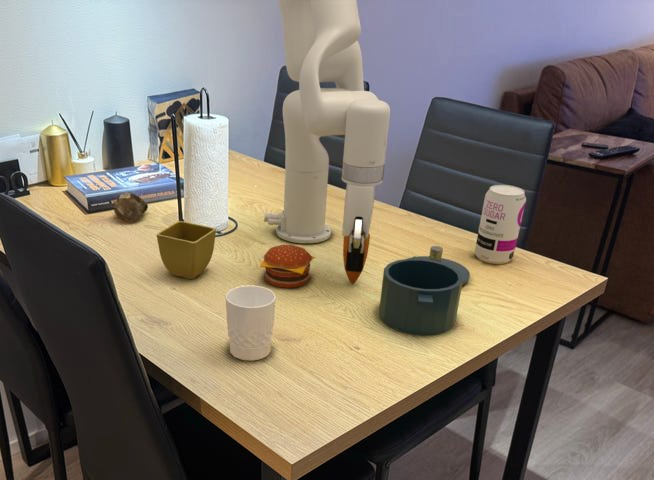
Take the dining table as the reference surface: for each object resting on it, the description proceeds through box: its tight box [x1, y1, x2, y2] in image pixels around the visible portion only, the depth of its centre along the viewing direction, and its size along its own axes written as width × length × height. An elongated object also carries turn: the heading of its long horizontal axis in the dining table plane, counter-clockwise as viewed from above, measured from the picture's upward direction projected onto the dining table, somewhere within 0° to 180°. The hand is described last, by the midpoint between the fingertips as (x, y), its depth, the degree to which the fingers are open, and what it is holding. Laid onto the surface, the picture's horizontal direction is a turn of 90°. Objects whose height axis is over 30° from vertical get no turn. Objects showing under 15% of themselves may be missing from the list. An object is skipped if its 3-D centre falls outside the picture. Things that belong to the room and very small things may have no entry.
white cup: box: [225, 284, 277, 362], centre depth 111 cm, size 8×8×10 cm
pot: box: [378, 255, 464, 336], centre depth 123 cm, size 14×19×8 cm
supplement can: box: [473, 184, 527, 265], centre depth 146 cm, size 8×8×15 cm
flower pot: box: [156, 220, 217, 280], centre depth 136 cm, size 9×9×9 cm
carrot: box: [342, 217, 371, 285], centre depth 133 cm, size 5×5×15 cm
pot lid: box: [406, 245, 471, 286], centre depth 139 cm, size 15×15×6 cm
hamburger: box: [259, 244, 316, 289], centre depth 136 cm, size 9×10×7 cm
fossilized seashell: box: [113, 192, 149, 222], centre depth 164 cm, size 8×7×10 cm
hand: (354, 261), depth 134 cm, fingers open, 7 cm apart
